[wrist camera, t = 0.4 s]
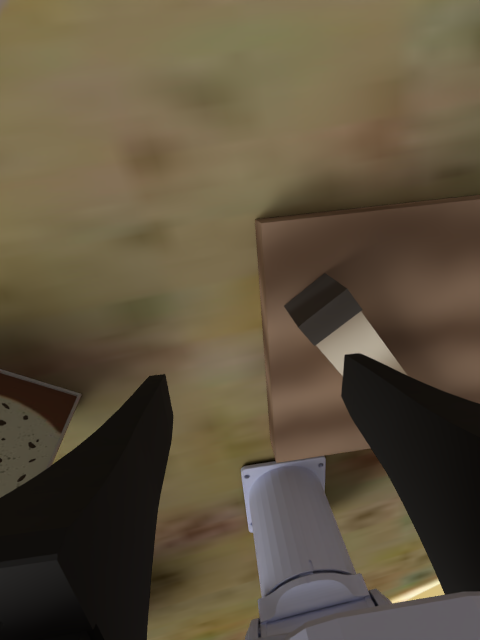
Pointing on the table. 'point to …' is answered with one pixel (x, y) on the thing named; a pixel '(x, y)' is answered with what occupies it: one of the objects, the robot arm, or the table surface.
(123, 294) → the table surface
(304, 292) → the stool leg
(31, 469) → the food container
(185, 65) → the table surface
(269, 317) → the stool seat
